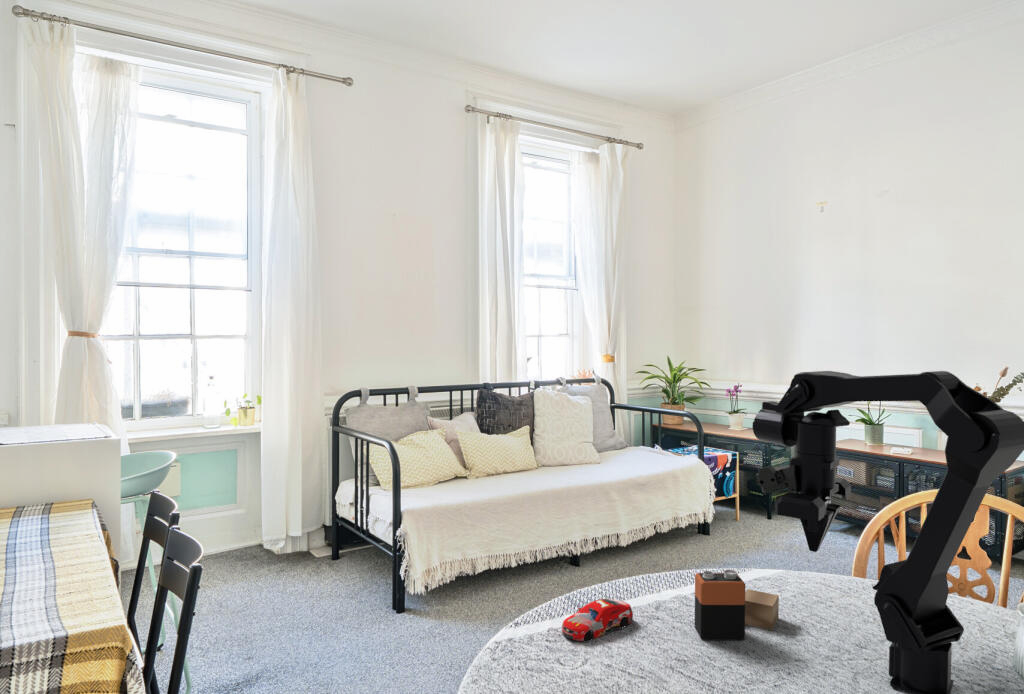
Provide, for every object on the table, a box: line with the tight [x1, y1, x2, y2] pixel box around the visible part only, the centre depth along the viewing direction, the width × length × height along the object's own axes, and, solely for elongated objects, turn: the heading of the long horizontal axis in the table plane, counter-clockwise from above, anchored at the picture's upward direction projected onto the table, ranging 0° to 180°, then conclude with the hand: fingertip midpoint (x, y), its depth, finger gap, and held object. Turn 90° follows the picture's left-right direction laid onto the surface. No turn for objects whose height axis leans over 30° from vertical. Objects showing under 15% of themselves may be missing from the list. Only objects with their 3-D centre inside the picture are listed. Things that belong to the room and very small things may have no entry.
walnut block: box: [745, 588, 780, 631], centre depth 112 cm, size 5×5×4 cm
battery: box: [694, 569, 746, 641], centre depth 107 cm, size 4×7×10 cm, turn 89°
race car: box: [561, 598, 634, 643], centre depth 109 cm, size 13×5×4 cm, turn 126°
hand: (813, 550), depth 107 cm, fingers closed
